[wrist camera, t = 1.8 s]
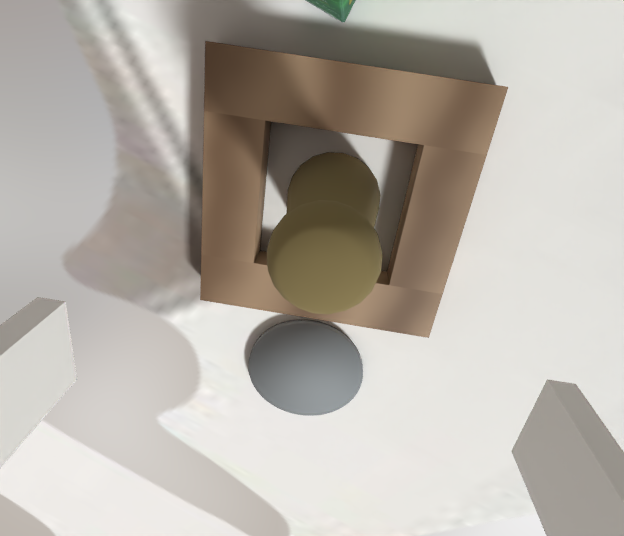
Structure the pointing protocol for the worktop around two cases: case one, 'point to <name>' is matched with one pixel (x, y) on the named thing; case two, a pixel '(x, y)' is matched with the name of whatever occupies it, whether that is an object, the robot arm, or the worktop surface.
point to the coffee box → (334, 7)
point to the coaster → (305, 367)
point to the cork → (327, 236)
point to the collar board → (348, 119)
